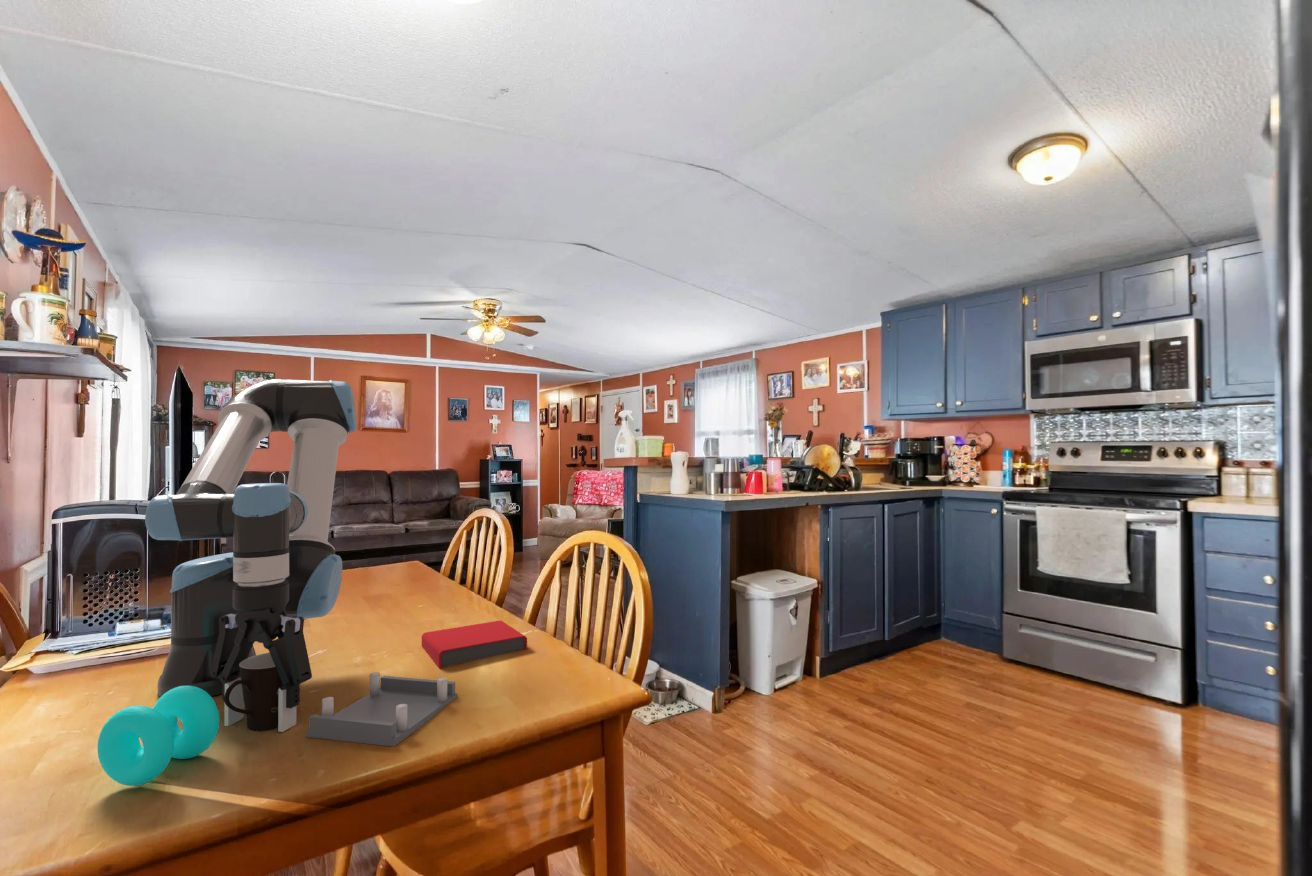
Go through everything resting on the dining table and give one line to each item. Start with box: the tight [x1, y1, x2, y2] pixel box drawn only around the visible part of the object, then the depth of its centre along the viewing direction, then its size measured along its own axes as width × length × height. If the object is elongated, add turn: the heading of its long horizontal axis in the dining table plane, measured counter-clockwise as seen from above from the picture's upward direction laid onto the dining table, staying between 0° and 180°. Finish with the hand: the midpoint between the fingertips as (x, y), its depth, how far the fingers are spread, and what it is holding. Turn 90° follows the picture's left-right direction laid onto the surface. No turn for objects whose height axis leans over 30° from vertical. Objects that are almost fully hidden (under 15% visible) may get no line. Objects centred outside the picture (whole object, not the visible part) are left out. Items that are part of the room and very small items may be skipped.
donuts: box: [96, 686, 220, 787], centre depth 83 cm, size 10×10×10 cm
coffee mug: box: [224, 651, 292, 732], centre depth 97 cm, size 12×9×10 cm
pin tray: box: [305, 671, 459, 748], centre depth 100 cm, size 15×17×4 cm
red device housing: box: [421, 620, 528, 670], centre depth 129 cm, size 18×14×5 cm
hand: (260, 724), depth 96 cm, fingers open, 9 cm apart
